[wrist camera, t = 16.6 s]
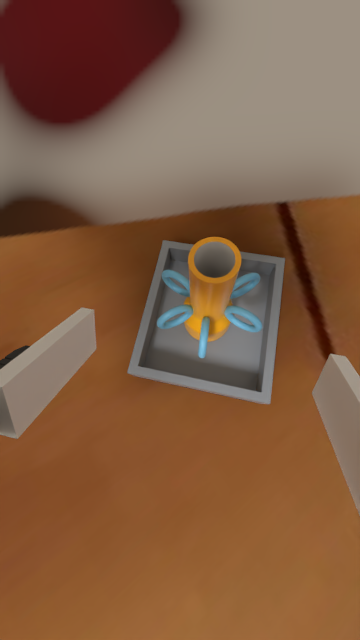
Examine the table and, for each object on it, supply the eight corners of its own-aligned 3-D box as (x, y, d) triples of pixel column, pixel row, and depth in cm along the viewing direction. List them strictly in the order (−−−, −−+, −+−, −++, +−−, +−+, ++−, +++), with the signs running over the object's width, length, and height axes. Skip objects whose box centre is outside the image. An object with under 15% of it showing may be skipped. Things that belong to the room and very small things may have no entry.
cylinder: (228, 269, 35) (250, 180, 21) (267, 334, 32) (324, 281, 18) (148, 306, 34) (115, 238, 20) (181, 376, 31) (169, 355, 17)
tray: (135, 376, 33) (127, 372, 29) (166, 256, 38) (163, 240, 34) (260, 403, 31) (270, 404, 27) (275, 273, 36) (285, 258, 32)
